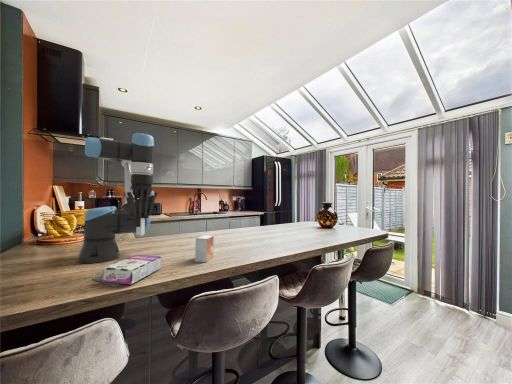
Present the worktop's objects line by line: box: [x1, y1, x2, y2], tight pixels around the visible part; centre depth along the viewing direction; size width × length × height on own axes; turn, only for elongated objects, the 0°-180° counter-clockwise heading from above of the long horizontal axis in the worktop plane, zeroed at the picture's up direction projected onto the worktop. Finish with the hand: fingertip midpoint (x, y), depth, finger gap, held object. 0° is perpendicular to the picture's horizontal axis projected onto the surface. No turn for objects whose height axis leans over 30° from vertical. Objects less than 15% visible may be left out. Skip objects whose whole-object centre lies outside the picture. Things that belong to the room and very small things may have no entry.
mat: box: [92, 272, 154, 288], centre depth 78 cm, size 13×14×1 cm
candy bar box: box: [102, 254, 162, 285], centre depth 78 cm, size 11×5×16 cm
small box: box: [194, 234, 215, 263], centre depth 100 cm, size 8×6×10 cm
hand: (140, 234), depth 84 cm, fingers closed
